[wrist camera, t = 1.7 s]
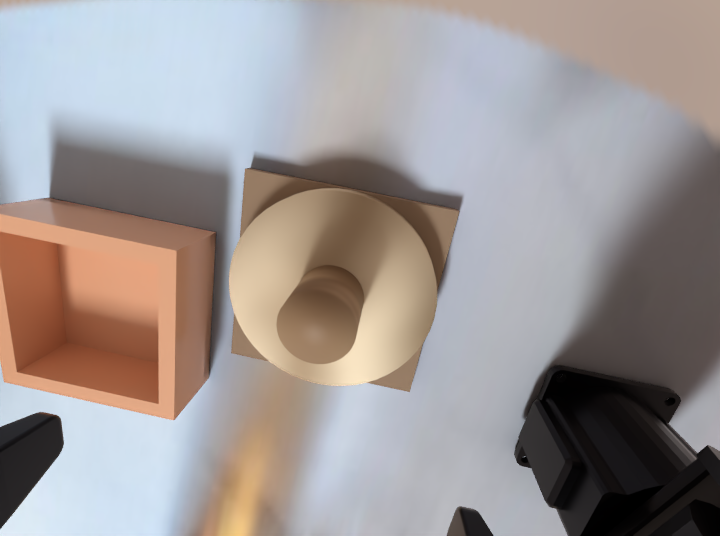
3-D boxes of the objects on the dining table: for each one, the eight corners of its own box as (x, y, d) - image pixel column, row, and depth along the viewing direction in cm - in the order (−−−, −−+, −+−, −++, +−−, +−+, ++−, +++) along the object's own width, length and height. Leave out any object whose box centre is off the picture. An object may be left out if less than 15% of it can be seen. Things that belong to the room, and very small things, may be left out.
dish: (216, 232, 18) (176, 250, 15) (208, 378, 21) (173, 420, 18) (48, 197, 19) (-27, 208, 15) (63, 346, 22) (4, 381, 18)
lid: (459, 211, 16) (479, 232, 12) (409, 391, 20) (412, 453, 16) (245, 168, 17) (197, 175, 13) (231, 352, 20) (190, 403, 16)
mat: (457, 209, 17) (459, 211, 16) (409, 385, 20) (409, 391, 20) (250, 167, 17) (245, 168, 17) (235, 347, 21) (231, 352, 20)
